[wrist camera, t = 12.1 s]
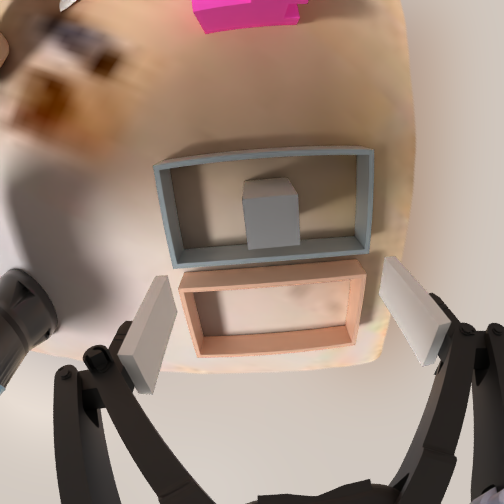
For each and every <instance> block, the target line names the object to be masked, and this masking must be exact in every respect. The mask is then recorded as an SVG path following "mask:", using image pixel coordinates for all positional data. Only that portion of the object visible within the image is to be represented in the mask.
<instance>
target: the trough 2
mask: <svg viewBox="0 0 504 504" xmlns="http://www.w3.org/2000/svg"><path fill="white" fill-rule="evenodd" d="M366 276H367V274H366V272H365V271H364V269H363V268H362V266H361V265H360V263H359V262H358V260H357V259H352V260H340V261H329V262H317V263H305V264H293V265H281V266H268V267H255V268H241V269H227V270H213V271H199V272H184V275H183V277H182V280H181V282H180V285H179V288H178V290H179V294H180V298H181V302H182V306H183V310H184V313H185V317H186V321H187V324H188V328H189V331H190V335H191V338H192V342H193V345H194V349H195V352H196V355H197V358H210V357H240V356H258V355H272V354H285V353H295V352H305V351H314V350H322V349H330V348H338V347H345V346H352V345H355V343H356V338H357V333H358V328H359V322H360V316H361V310H362V304H363V297H364V290H365V283H366ZM343 280H351V283H350V292H349V301H348V309H347V316H346V323H345V325H344V326H337V327H329V328H320V329H311V330H301V331H291V332H279V333H266V334H252V335H234V336H209V337H204V335H203V331H202V327H201V323H200V319H199V315H198V311H197V307H196V302H195V298H194V294H193V292H204V291H221V290H236V289H251V288H264V287H277V286H289V285H301V284H312V283H323V282H333V281H343Z"/></svg>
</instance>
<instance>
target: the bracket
mask: <svg viewBox="0 0 504 504" xmlns="http://www.w3.org/2000/svg"><path fill="white" fill-rule="evenodd" d="M308 1H309V0H192V7H193V13H194V14H195V16H196V18H197V20H198V21H199V23H200V25H201V27H202V28H203V30H204V32H205V34H209V33H214V32H220V31H227V30H234V29H242V28H251V27H261V26H275V25H297V23H298V21H299V19H300V16H299V11H298V6H297V4H307V3H308Z"/></svg>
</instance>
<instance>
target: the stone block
mask: <svg viewBox="0 0 504 504" xmlns="http://www.w3.org/2000/svg"><path fill="white" fill-rule="evenodd" d="M242 203H243V211H244V219H245V227H246V236H247V244H248V250H252V249H262V248H273V247H283V246H294V245H300V225H299V204H298V193H297V192H296V190H295V189H294V187H293V185H292V184H291V182H290V181H289V179H288V178H287V177H283V178H271V179H260V180H250V181H244V187H243V196H242Z"/></svg>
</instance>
